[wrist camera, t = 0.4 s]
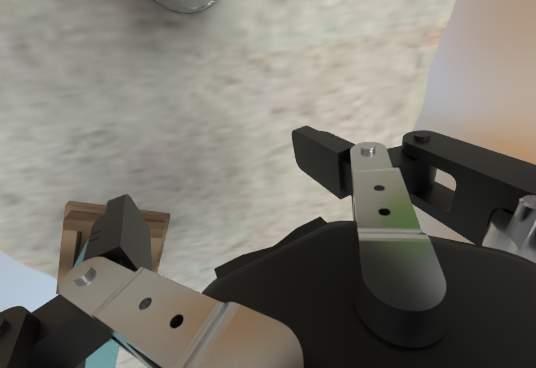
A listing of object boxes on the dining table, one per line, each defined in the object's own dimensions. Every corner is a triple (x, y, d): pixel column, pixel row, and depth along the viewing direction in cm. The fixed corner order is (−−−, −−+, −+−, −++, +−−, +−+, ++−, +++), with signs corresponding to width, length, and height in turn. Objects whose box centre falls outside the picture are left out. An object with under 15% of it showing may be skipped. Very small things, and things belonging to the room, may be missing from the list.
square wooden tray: (69, 201, 27) (57, 214, 25) (169, 213, 32) (169, 226, 29) (60, 278, 30) (50, 297, 28) (154, 280, 35) (152, 297, 32)
